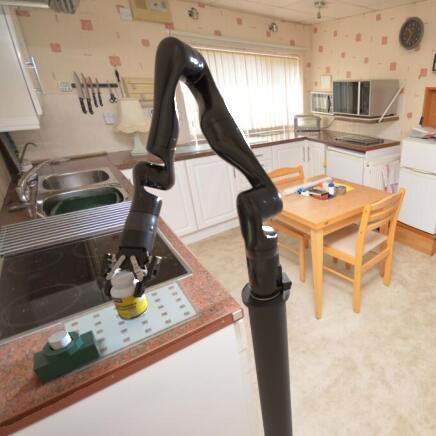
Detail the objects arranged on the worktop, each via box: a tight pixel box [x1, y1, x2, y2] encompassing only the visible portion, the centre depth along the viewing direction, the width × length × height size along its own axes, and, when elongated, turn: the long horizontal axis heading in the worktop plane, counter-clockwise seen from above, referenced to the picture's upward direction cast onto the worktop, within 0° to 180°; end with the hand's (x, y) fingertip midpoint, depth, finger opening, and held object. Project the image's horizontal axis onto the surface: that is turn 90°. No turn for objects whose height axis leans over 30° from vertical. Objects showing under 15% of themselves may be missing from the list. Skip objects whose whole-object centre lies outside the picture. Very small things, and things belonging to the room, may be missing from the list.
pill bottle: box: [110, 271, 149, 322], centre depth 74 cm, size 6×6×12 cm
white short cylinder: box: [47, 330, 72, 350], centre depth 62 cm, size 3×3×2 cm
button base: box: [32, 329, 101, 384], centre depth 64 cm, size 10×6×6 cm, turn 131°
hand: (123, 296), depth 72 cm, fingers closed on pill bottle, 6 cm apart
